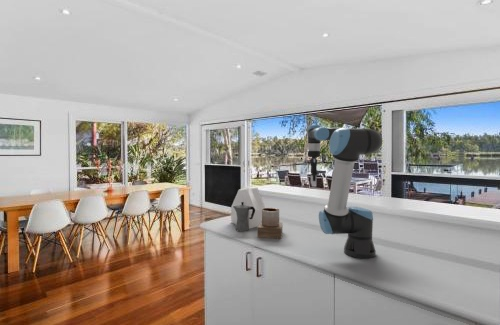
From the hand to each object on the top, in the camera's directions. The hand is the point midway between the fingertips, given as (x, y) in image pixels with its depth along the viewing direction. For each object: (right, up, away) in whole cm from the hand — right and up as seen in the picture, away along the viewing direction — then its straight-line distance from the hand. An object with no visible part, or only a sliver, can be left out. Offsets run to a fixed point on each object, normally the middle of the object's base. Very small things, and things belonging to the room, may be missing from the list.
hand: (313, 185), depth 183 cm
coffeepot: (-43, -30, +11) cm, 54 cm away
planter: (-26, -25, 0) cm, 36 cm away
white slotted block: (-40, -29, +26) cm, 56 cm away
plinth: (-27, -31, 0) cm, 40 cm away
